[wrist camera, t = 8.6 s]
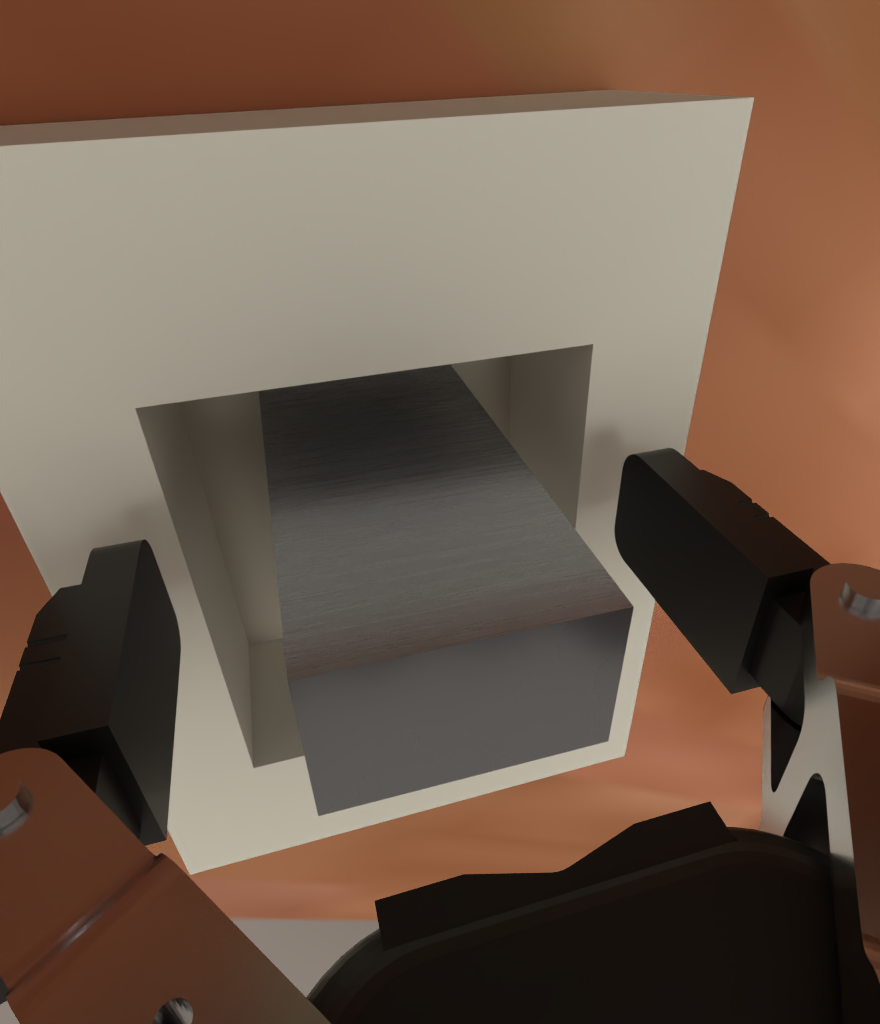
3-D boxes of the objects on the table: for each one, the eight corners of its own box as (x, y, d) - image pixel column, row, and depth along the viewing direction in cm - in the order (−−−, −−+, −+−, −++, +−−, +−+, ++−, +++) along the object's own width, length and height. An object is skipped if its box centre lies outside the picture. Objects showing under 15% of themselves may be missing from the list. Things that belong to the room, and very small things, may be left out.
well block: (-40, 127, 11) (-166, 157, 8) (612, 89, 13) (754, 97, 10) (196, 730, 20) (189, 875, 17) (560, 645, 22) (624, 755, 19)
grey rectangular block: (255, 367, 14) (288, 681, 7) (436, 346, 15) (633, 606, 8) (300, 596, 18) (350, 958, 11) (442, 569, 19) (580, 886, 11)
